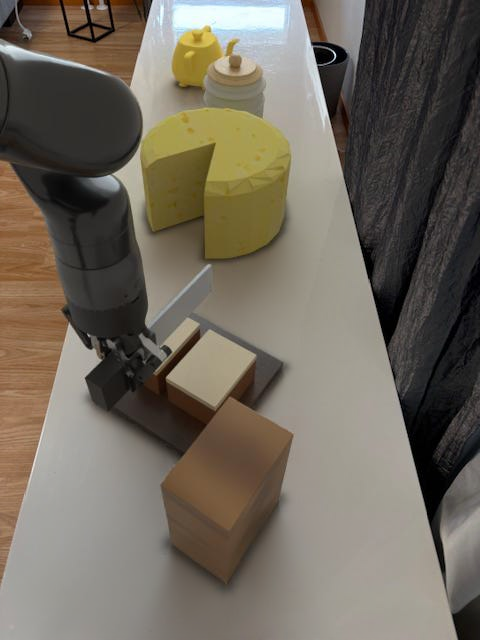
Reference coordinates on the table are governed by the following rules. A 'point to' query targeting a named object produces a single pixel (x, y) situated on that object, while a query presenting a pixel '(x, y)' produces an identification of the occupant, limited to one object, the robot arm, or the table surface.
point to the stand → (226, 487)
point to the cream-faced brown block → (210, 376)
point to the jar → (235, 85)
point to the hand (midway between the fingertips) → (126, 379)
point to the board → (177, 423)
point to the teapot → (197, 55)
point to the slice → (174, 353)
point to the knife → (109, 375)
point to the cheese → (217, 177)
